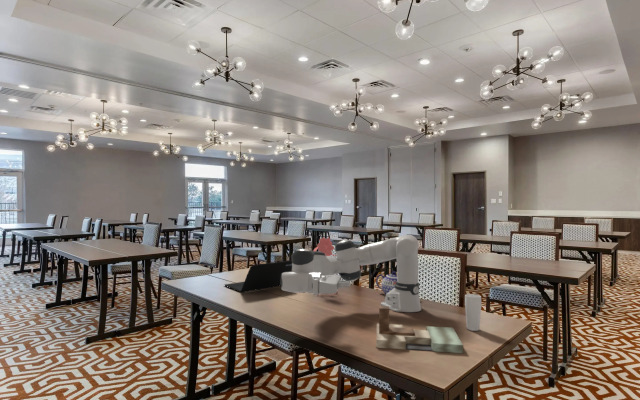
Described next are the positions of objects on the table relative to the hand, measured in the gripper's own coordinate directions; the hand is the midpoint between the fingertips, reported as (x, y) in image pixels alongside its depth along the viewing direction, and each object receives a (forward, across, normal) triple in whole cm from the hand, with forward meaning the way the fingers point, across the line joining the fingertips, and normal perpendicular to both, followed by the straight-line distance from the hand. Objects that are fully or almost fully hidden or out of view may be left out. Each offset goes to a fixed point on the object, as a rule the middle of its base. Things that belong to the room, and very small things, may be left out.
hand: (350, 284), depth 156 cm
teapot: (+21, -76, -22) cm, 82 cm away
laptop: (-66, -81, -23) cm, 107 cm away
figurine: (-21, -75, -22) cm, 81 cm away
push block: (+19, 0, -19) cm, 27 cm away
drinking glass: (+53, -19, -22) cm, 61 cm away
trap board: (+27, 0, -22) cm, 35 cm away
